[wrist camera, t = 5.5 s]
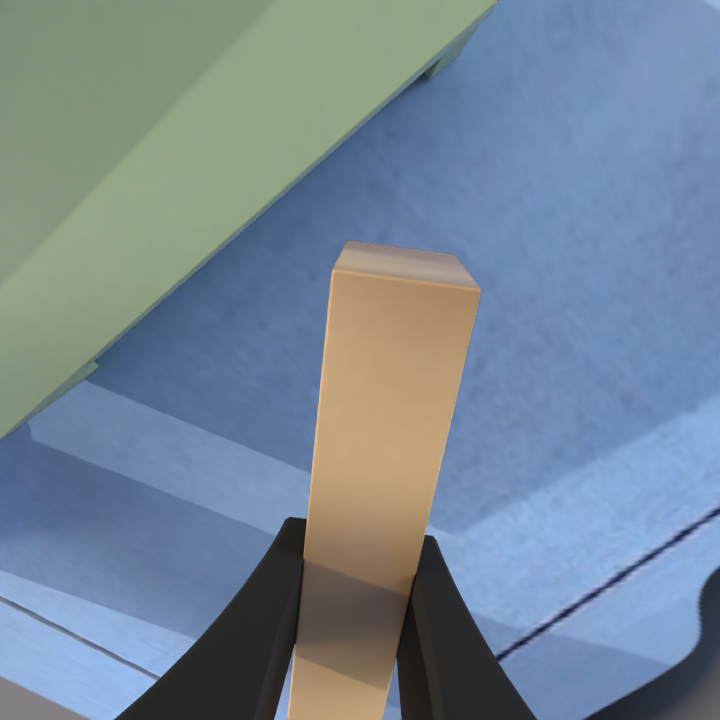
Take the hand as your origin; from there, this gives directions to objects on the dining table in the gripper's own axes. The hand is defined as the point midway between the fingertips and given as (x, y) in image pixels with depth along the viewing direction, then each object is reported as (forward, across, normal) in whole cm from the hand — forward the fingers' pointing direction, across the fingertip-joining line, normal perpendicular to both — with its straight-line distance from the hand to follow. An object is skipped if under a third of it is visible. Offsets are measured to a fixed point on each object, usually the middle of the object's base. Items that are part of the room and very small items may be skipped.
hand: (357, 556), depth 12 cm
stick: (+1, 0, 0) cm, 1 cm away
